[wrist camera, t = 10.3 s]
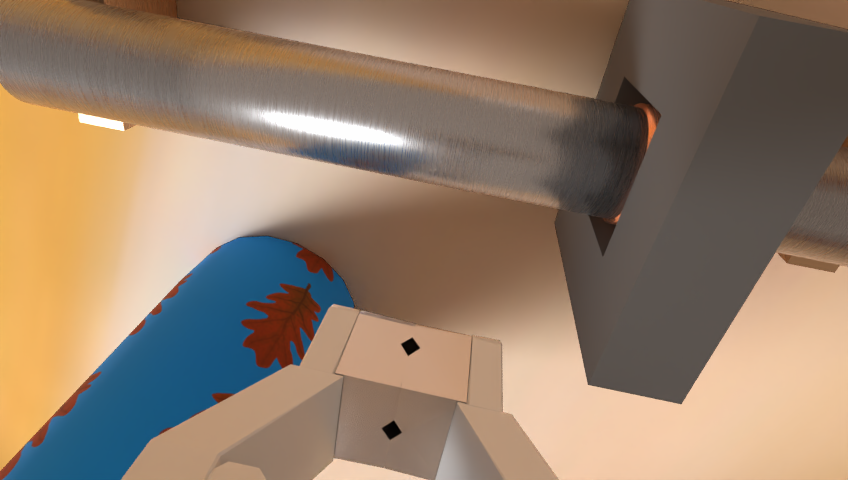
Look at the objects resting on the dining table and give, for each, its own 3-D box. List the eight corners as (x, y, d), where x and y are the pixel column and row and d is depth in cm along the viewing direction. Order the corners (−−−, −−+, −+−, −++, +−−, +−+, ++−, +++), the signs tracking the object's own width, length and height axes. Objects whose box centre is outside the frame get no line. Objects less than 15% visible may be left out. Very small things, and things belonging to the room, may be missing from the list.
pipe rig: (777, 217, 26) (902, 338, 18) (147, 93, 26) (0, 155, 19) (861, 78, 22) (1063, 152, 14) (128, -61, 23) (-65, -64, 15)
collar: (612, 234, 25) (681, 404, 16) (554, 222, 26) (587, 384, 16) (710, -4, 20) (904, 42, 10) (635, -18, 20) (760, 15, 10)
